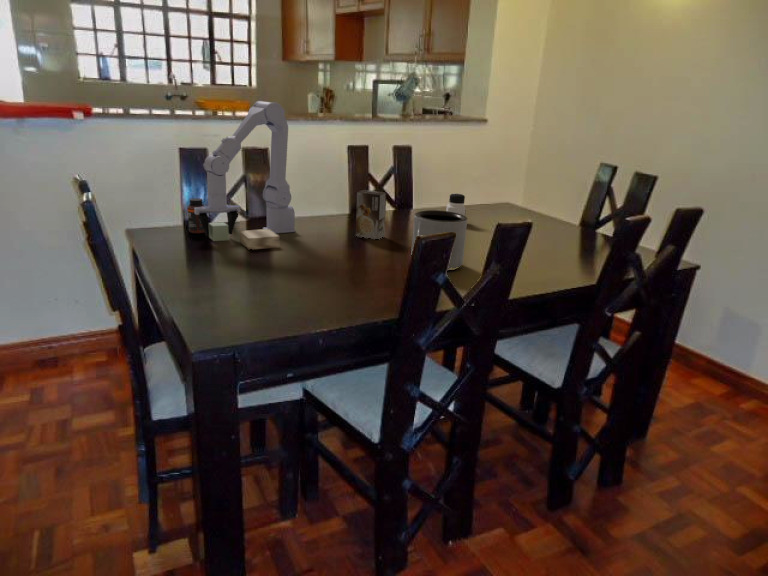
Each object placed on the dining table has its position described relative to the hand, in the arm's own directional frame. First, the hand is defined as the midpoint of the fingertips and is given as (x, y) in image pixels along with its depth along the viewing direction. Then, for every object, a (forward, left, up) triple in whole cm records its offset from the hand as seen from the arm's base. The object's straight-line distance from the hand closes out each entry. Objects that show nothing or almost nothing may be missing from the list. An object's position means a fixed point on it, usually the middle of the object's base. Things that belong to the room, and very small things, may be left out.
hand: (218, 234), depth 186 cm
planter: (-52, +51, -2) cm, 73 cm away
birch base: (-10, +11, -2) cm, 15 cm away
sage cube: (0, 0, -2) cm, 2 cm away
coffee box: (-50, +14, -2) cm, 52 cm away
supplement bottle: (+4, -11, -2) cm, 12 cm away
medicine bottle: (-95, +6, -2) cm, 95 cm away
